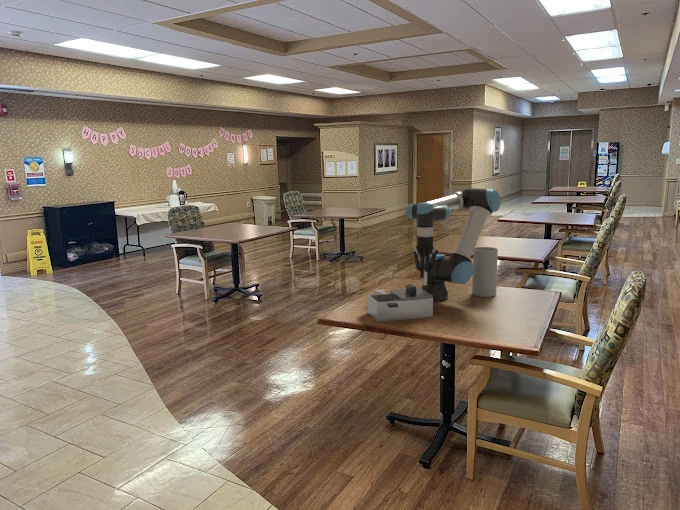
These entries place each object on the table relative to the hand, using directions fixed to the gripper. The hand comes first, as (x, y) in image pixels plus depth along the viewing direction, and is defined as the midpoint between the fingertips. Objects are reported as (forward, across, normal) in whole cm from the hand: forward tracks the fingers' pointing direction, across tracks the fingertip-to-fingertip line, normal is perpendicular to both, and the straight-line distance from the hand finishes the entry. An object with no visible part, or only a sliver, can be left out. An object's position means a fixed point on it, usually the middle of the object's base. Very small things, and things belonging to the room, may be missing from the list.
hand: (424, 284), depth 248 cm
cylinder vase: (+14, -43, -20) cm, 50 cm away
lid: (+5, +7, 0) cm, 8 cm away
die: (+14, +17, -18) cm, 28 cm away
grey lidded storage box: (+14, +12, 0) cm, 19 cm away
